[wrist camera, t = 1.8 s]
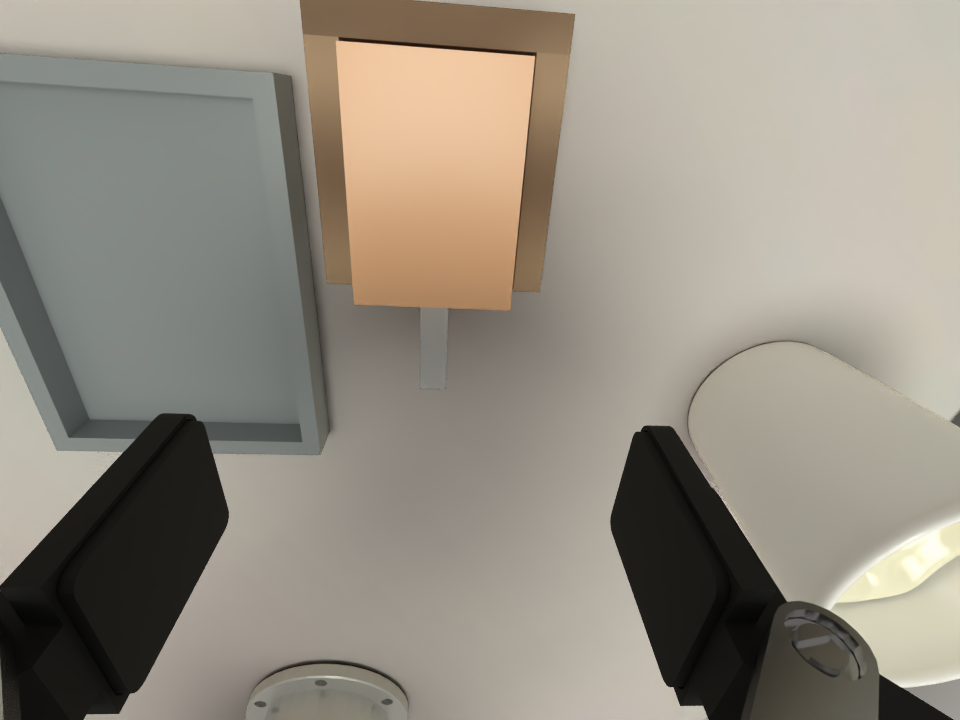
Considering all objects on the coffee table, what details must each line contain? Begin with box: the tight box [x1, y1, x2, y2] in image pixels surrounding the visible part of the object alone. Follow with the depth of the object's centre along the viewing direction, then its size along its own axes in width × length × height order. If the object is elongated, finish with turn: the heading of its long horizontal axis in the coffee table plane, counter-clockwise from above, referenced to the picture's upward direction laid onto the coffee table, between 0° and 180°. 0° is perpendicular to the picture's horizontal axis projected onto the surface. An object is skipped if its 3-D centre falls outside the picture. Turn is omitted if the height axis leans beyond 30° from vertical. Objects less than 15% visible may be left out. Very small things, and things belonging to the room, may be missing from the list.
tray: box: [0, 53, 330, 455], centre depth 20 cm, size 17×13×2 cm
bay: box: [300, 0, 575, 293], centre depth 17 cm, size 8×8×4 cm
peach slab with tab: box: [336, 41, 535, 389], centre depth 18 cm, size 11×5×7 cm, turn 176°
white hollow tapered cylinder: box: [688, 342, 960, 688], centre depth 21 cm, size 10×10×12 cm
